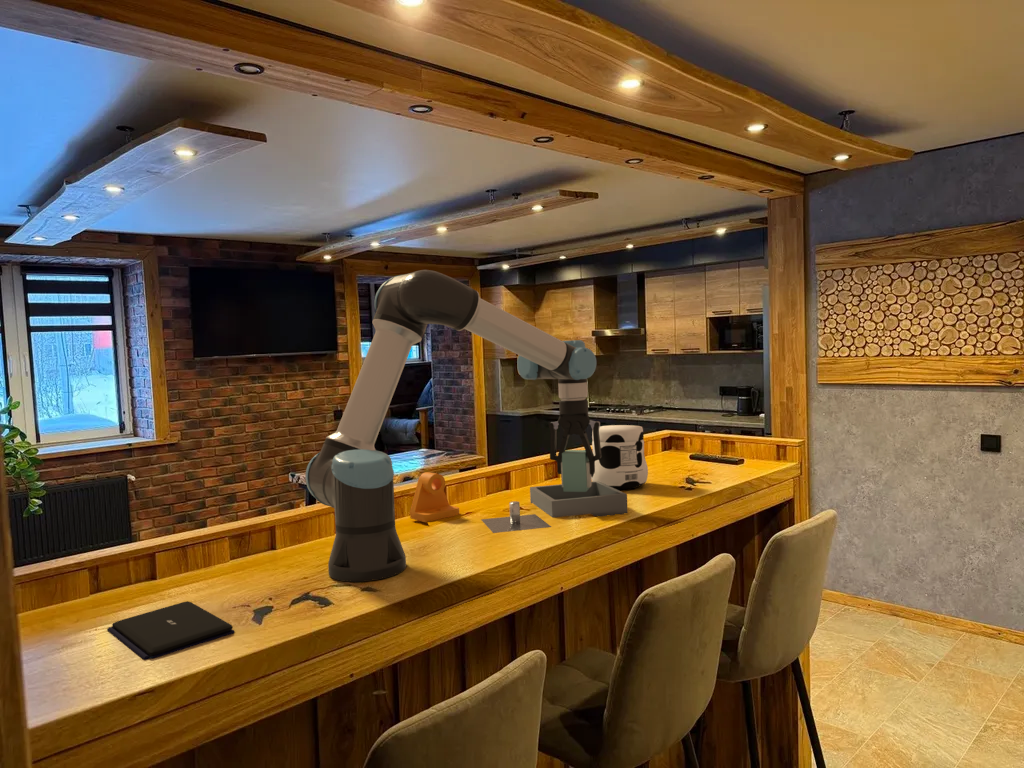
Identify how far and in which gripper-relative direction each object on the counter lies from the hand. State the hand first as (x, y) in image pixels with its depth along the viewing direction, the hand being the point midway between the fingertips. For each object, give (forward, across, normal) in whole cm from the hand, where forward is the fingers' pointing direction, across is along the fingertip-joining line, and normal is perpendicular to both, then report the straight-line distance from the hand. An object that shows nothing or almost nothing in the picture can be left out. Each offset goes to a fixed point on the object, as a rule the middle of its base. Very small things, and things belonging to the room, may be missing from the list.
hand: (576, 486), depth 188 cm
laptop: (+6, +49, +92) cm, 104 cm away
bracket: (+6, +34, +15) cm, 38 cm away
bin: (+6, 0, 0) cm, 6 cm away
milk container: (+6, -7, -32) cm, 33 cm away
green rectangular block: (+1, 0, 0) cm, 1 cm away
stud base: (+6, +11, +20) cm, 24 cm away
